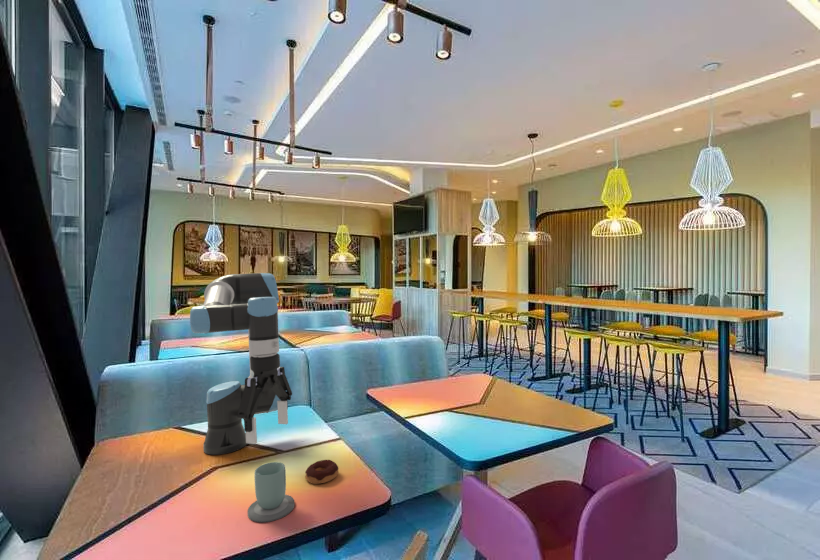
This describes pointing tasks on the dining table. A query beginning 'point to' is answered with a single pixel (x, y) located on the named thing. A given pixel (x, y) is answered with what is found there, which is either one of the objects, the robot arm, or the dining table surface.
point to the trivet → (271, 511)
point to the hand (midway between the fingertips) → (268, 432)
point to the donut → (321, 471)
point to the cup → (270, 484)
